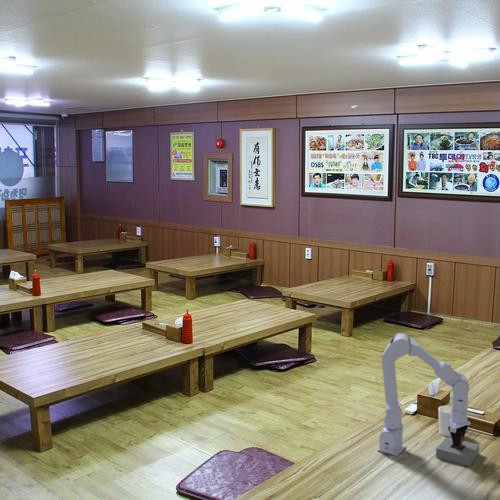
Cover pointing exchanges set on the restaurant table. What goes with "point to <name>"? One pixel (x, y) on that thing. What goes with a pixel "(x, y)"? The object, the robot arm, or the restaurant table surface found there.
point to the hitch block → (457, 452)
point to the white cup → (444, 420)
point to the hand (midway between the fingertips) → (458, 444)
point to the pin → (459, 446)
